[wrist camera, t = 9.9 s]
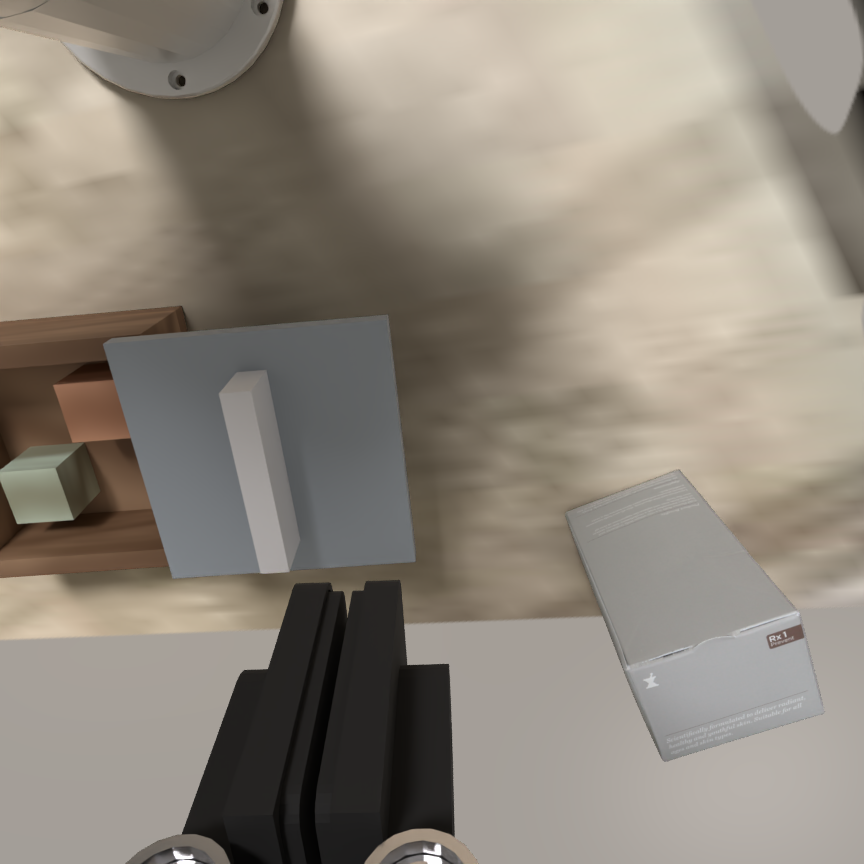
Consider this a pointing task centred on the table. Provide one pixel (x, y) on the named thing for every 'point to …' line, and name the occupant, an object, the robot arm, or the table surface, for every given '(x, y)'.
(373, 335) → the cover
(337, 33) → the table surface
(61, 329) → the box
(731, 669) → the skincare box
